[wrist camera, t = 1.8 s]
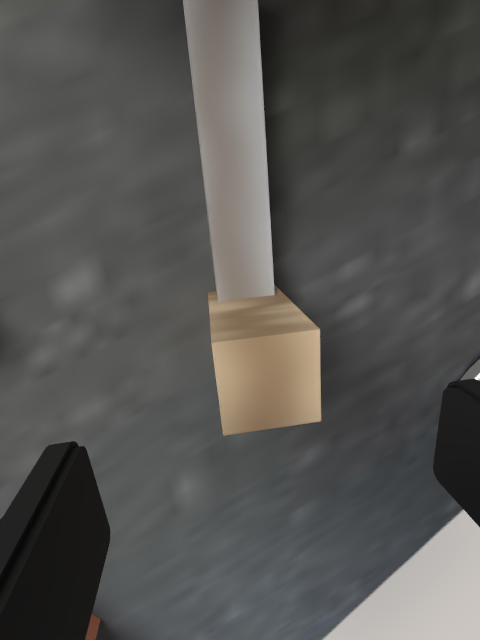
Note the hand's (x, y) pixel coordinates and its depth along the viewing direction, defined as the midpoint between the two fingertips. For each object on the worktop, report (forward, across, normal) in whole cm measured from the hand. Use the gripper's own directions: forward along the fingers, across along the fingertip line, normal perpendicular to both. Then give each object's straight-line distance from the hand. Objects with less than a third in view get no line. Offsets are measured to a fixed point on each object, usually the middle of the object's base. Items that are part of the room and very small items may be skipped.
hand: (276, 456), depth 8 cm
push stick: (+12, -1, -6) cm, 14 cm away
